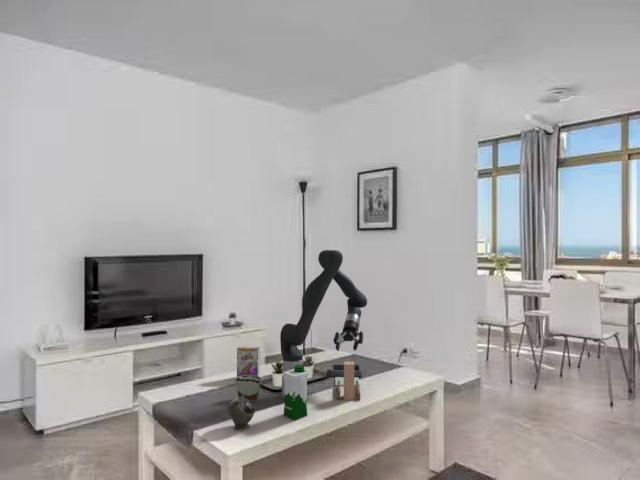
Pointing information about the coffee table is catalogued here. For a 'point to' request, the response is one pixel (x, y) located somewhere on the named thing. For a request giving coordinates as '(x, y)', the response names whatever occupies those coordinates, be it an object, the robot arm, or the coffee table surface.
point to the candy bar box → (248, 360)
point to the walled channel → (356, 390)
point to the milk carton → (295, 392)
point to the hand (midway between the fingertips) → (345, 349)
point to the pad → (343, 381)
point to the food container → (248, 386)
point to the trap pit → (339, 370)
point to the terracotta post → (348, 380)
